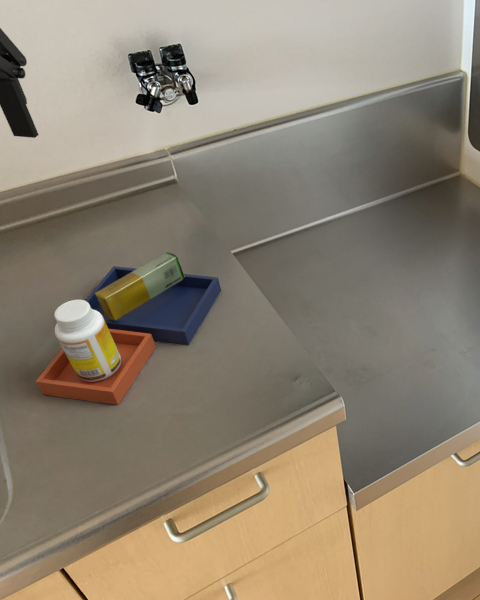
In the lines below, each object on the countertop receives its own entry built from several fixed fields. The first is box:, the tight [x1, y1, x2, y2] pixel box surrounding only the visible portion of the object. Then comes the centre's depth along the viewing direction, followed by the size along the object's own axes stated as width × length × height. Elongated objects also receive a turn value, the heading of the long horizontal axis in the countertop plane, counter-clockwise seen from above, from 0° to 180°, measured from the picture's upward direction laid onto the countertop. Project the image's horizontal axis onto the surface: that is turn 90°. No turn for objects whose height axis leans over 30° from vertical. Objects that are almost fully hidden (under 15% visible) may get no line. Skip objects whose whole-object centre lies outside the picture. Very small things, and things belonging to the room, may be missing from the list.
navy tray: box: [84, 265, 222, 346], centre depth 88 cm, size 17×12×2 cm
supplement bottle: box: [53, 299, 121, 382], centre depth 76 cm, size 6×6×10 cm
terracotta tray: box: [35, 329, 157, 406], centre depth 79 cm, size 10×10×2 cm
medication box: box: [95, 251, 185, 321], centre depth 86 cm, size 12×3×4 cm, turn 144°
